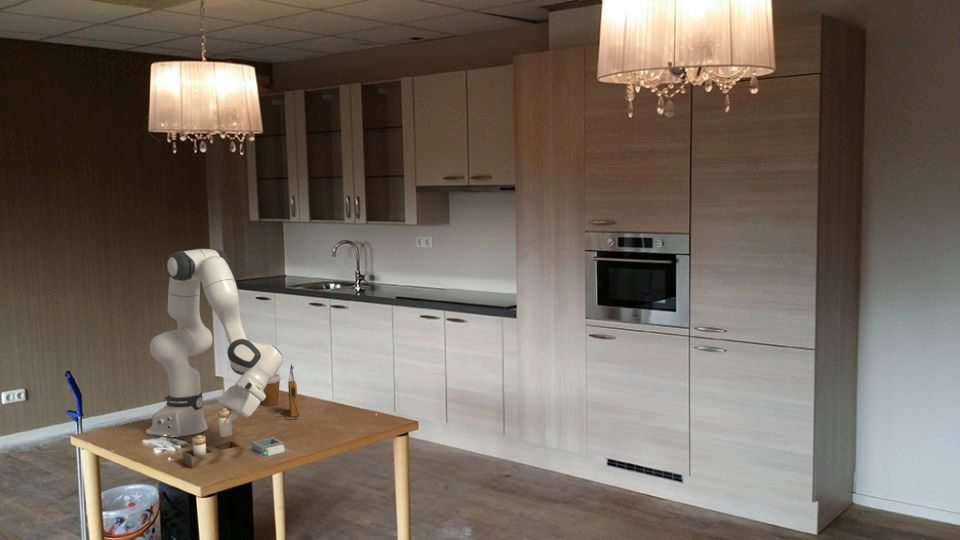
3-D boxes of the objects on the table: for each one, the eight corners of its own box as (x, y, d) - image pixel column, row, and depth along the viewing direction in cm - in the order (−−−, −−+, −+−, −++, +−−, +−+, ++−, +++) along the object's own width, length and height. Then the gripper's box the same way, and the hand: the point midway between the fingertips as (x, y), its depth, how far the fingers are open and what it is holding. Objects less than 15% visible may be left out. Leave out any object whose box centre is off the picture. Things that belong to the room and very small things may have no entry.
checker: (263, 460, 282) (262, 450, 282) (245, 450, 293) (245, 440, 293) (290, 453, 288) (290, 443, 288) (272, 444, 299) (272, 434, 299)
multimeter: (270, 412, 341) (268, 364, 339) (295, 410, 344) (293, 361, 342) (273, 422, 327) (270, 371, 325) (299, 419, 330) (296, 369, 328)
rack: (192, 471, 273) (191, 458, 273) (183, 465, 280) (182, 451, 279) (244, 459, 284) (243, 446, 283) (233, 453, 290) (233, 440, 290)
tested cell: (217, 436, 282) (215, 410, 281) (224, 433, 286) (222, 407, 285) (227, 437, 281) (226, 410, 280) (234, 433, 285) (232, 407, 284)
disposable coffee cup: (286, 403, 354) (285, 375, 353) (267, 408, 347) (265, 380, 346) (273, 400, 361) (271, 372, 359) (254, 405, 354) (252, 376, 352)
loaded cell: (191, 463, 277) (189, 437, 276) (198, 459, 281) (197, 433, 280) (202, 464, 276) (200, 438, 275) (209, 460, 280) (207, 434, 279)
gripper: (230, 377, 294) (204, 410, 289) (254, 387, 278) (228, 422, 273) (243, 388, 297) (218, 420, 292) (268, 398, 282) (242, 432, 277)
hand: (223, 421), depth 283 cm, fingers closed on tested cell, 4 cm apart
